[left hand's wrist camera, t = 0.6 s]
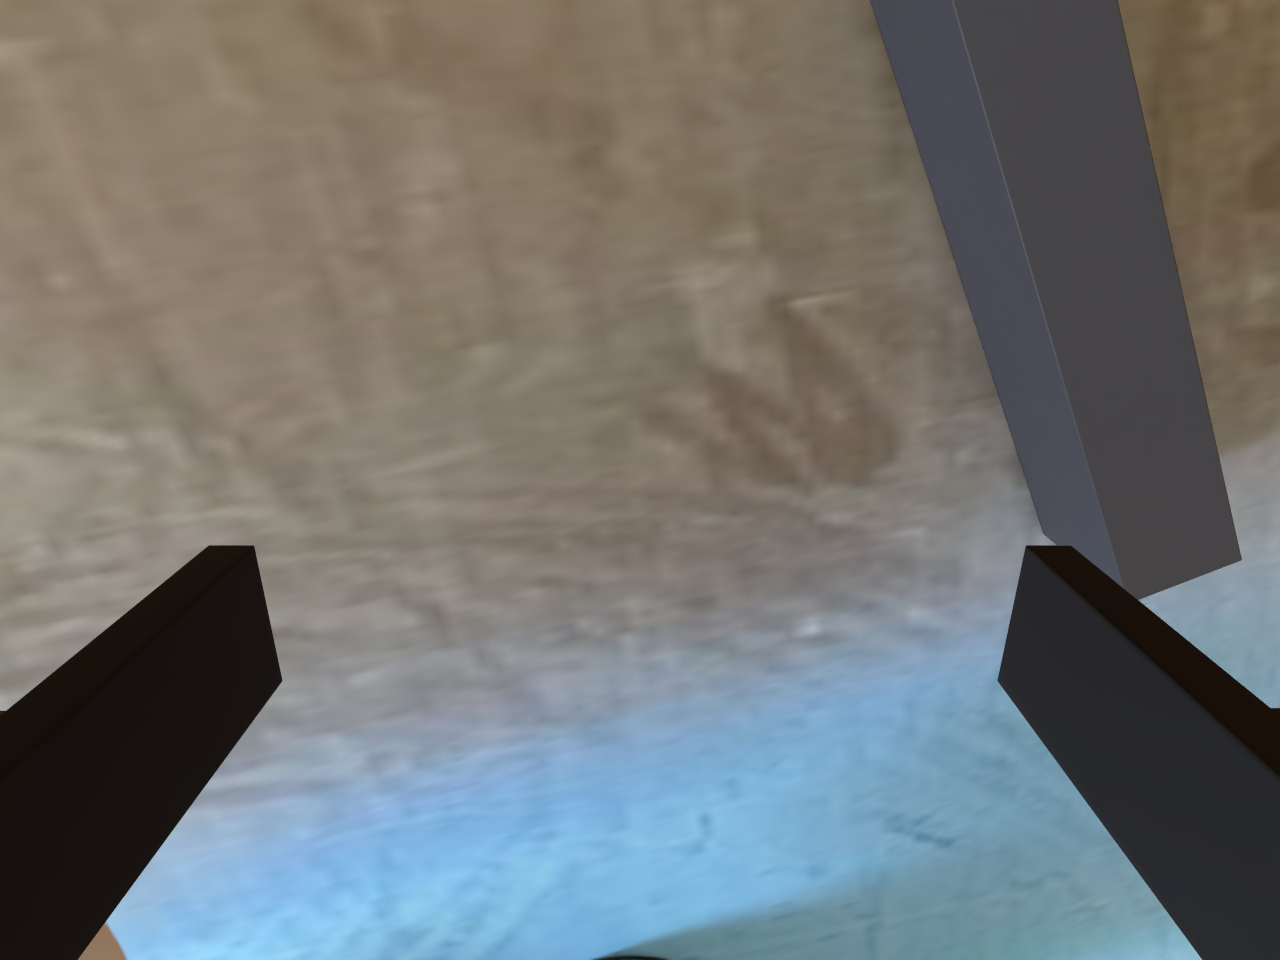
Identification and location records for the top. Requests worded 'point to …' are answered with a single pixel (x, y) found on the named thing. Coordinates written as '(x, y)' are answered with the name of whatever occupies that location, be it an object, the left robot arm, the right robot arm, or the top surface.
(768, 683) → the top surface
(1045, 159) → the post
